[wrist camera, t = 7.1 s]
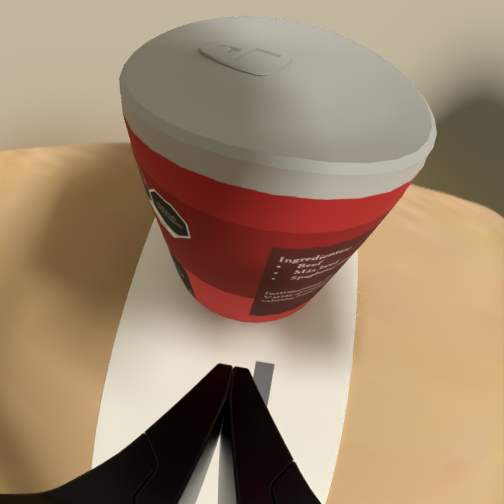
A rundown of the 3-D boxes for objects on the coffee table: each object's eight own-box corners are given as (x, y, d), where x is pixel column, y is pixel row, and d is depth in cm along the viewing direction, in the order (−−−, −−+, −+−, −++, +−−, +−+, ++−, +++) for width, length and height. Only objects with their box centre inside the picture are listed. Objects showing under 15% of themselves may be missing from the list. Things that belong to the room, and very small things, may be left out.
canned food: (202, 184, 17) (193, 8, 7) (329, 217, 17) (409, 57, 7) (154, 300, 14) (43, 132, 4) (308, 343, 14) (472, 236, 4)
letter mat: (301, 568, 8) (302, 571, 7) (90, 528, 8) (88, 530, 7) (356, 239, 17) (357, 236, 17) (163, 201, 17) (162, 198, 17)
